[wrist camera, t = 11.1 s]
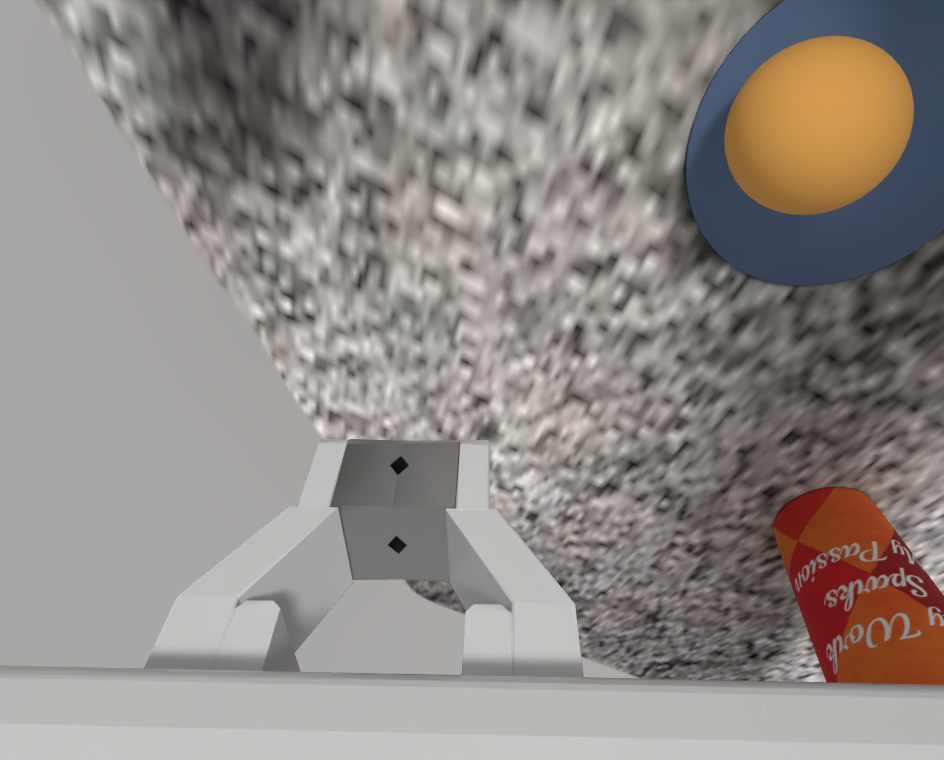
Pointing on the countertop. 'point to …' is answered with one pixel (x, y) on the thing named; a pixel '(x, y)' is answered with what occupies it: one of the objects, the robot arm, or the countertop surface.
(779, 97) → the ball
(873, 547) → the coffee cup
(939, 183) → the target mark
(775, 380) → the countertop surface
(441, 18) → the countertop surface
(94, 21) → the countertop surface
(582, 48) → the countertop surface
